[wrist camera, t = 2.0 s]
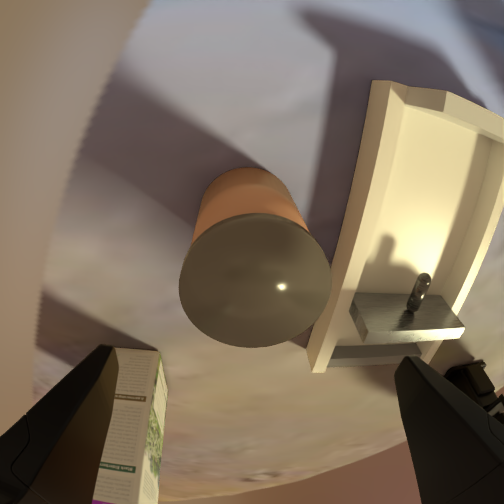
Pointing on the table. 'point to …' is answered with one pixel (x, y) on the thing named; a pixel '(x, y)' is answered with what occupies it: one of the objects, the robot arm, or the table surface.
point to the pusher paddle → (404, 316)
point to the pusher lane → (412, 214)
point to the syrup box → (134, 432)
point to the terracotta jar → (253, 263)
